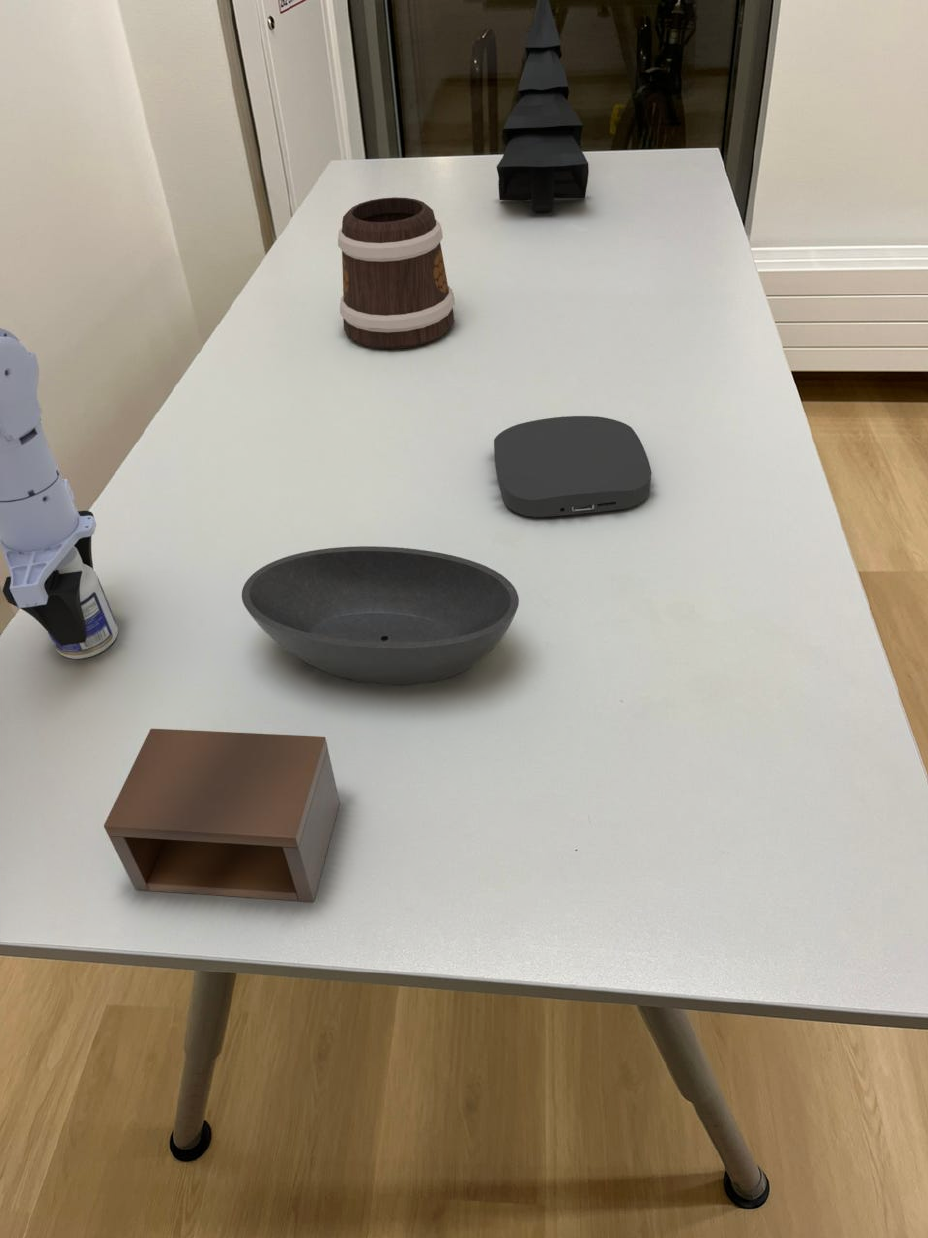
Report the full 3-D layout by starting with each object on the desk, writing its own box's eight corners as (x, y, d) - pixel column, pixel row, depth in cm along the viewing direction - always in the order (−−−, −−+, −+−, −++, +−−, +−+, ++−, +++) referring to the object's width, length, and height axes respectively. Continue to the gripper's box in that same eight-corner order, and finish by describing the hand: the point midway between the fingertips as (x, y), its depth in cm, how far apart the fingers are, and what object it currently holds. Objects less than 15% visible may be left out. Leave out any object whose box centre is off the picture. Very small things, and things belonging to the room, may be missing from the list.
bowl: (508, 719, 72) (505, 660, 67) (233, 691, 75) (216, 633, 71) (530, 615, 80) (529, 556, 76) (284, 595, 84) (270, 538, 80)
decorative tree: (585, 222, 161) (587, 4, 158) (589, 191, 147) (591, -49, 143) (499, 225, 163) (499, 9, 159) (494, 195, 148) (494, -44, 145)
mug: (449, 352, 119) (440, 230, 109) (331, 353, 121) (313, 232, 111) (466, 289, 134) (460, 177, 124) (361, 290, 136) (347, 179, 126)
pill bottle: (63, 623, 83) (26, 541, 77) (123, 616, 83) (91, 533, 78) (49, 664, 79) (10, 581, 73) (113, 657, 79) (79, 573, 74)
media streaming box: (490, 446, 102) (488, 421, 100) (625, 432, 102) (626, 407, 100) (507, 524, 91) (506, 498, 89) (658, 509, 91) (661, 482, 89)
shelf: (134, 890, 62) (103, 826, 58) (176, 792, 68) (150, 728, 64) (314, 902, 61) (295, 837, 56) (340, 802, 67) (325, 736, 62)
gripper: (59, 528, 66) (117, 670, 75) (87, 426, 77) (135, 560, 85) (-46, 542, 65) (25, 684, 74) (-3, 437, 76) (54, 571, 85)
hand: (78, 618), depth 80 cm, fingers closed on pill bottle, 5 cm apart
